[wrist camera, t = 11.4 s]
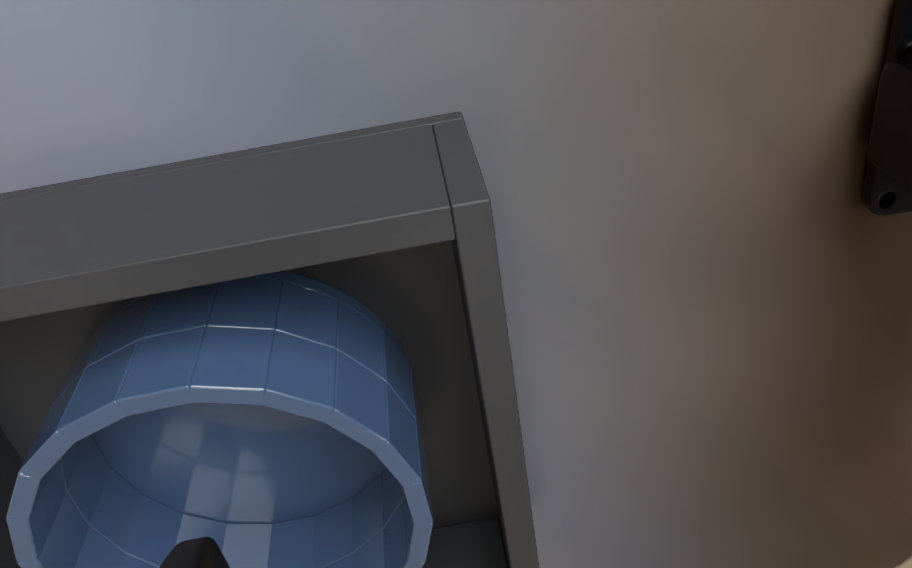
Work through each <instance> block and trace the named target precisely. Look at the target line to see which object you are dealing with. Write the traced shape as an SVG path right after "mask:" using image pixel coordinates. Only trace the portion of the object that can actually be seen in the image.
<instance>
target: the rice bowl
mask: <svg viewBox="0 0 912 568" xmlns="http://www.w3.org/2000/svg"><path fill="white" fill-rule="evenodd" d="M6 521H7V525H8V529H9V533H10V537H11V541H12V546H13V550H14V554H15V558H16V561H17V563H18V565H19V566H20V567H21V568H159V567H160V565H161V564H162V563H163V561H164V560H165V559H166V557H167V556H168V555H169V553H170V552H171V550H172V549H173V548H174V547H175V546H176V545H177V544H178V543H180V542H182V541H186V540H191V539H196V538H201V537H211V538H213V539H214V540H215V541H216V543H217V544H218V546H219V548H220V550H221V552H222V553H223V555H224V557H225V559H226V561H227V563H228V565H229V566H230V568H422V567H423V566H424V564H425V562H426V558H427V553H428V547H429V542H430V537H431V532H432V527H433V515H432V505H431V495H430V486H429V476H428V467H427V459H426V448H425V438H424V429H423V419H422V409H421V404H420V400H419V396H418V389H417V383H416V377H415V373H414V371H413V368H412V365H411V362H410V359H409V357H408V355H407V354H406V352H405V350H404V348H403V346H402V344H401V343H400V341H399V340H398V339H397V338H396V336H395V335H394V334H393V332H392V331H391V330H390V328H389V327H388V326H387V325H386V324H385V323H384V322H383V321H382V320H381V319H380V318H379V317H378V316H377V315H376V314H375V313H373V312H372V311H371V310H369V309H368V308H367V307H366V306H364V305H363V304H362V303H360V302H359V301H358V300H356V299H354V298H352V297H351V296H349V295H347V294H346V293H344V292H342V291H340V290H339V289H337V288H334V287H332V286H330V285H327V284H325V283H323V282H320V281H318V280H315V279H312V278H309V277H305V276H302V275H299V274H296V273H292V272H286V271H280V272H274V273H269V274H263V275H258V276H252V277H247V278H241V279H236V280H230V281H225V282H219V283H214V284H208V285H203V286H197V287H191V288H186V289H180V290H175V291H169V292H164V293H158V294H153V295H147V296H142V297H136V298H131V299H125V300H124V301H123V302H121V303H120V304H119V305H117V306H116V307H115V308H113V309H112V310H111V311H110V312H109V313H108V314H107V315H106V316H105V317H104V318H103V319H102V320H101V321H100V323H99V324H98V325H97V326H96V328H95V329H94V331H93V332H92V334H91V335H90V336H89V338H88V339H87V341H86V343H85V345H84V346H83V347H82V348H81V349H80V351H79V353H78V354H77V356H76V358H75V360H74V362H73V364H72V366H71V368H70V370H69V372H68V374H67V376H66V378H65V380H64V382H63V384H62V386H61V388H60V390H59V392H58V394H57V396H56V398H55V400H54V402H53V404H52V406H51V408H50V410H49V412H48V414H47V416H46V418H45V420H44V422H43V424H42V426H41V428H40V430H39V432H38V434H37V436H36V438H35V440H34V442H33V444H32V446H31V448H30V450H29V452H28V454H27V456H26V458H25V460H24V462H23V464H22V466H21V468H20V470H19V471H18V474H17V478H16V481H15V485H14V489H13V492H12V496H11V499H10V503H9V506H8V510H7V514H6Z"/></svg>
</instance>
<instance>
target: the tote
mask: <svg viewBox="0 0 912 568" xmlns="http://www.w3.org/2000/svg"><path fill="white" fill-rule="evenodd" d="M280 271H286V272H292V273H296V274H299V275H302V276H305V277H309V278H312V279H315V280H318V281H320V282H323V283H325V284H327V285H330V286H332V287H334V288H337V289H339V290H340V291H342V292H344V293H346V294H347V295H349V296H351V297H352V298H354V299H356V300H358V301H359V302H360V303H362V304H363V305H364V306H366V307H367V308H368V309H369V310H371V311H372V312H373V313H375V314H376V315H377V316H378V317H379V318H380V319H381V320H382V321H383V322H384V323H385V324H386V325H387V326H388V327H389V328H390V330H391V331H392V332H393V334H394V335H395V336H396V338H397V339H398V340H399V341H400V343H401V344H402V346H403V348H404V350H405V352H406V354H407V355H408V357H409V359H410V362H411V365H412V368H413V371H414V373H415V377H416V383H417V389H418V396H419V400H420V404H421V409H422V419H423V429H424V438H425V448H426V459H427V467H428V476H429V486H430V495H431V505H432V515H433V527H432V532H431V537H430V542H429V547H428V553H427V558H426V562H425V564H424V566H423V567H422V568H539V563H538V555H537V547H536V540H535V532H534V525H533V517H532V510H531V502H530V495H529V487H528V480H527V472H526V465H525V457H524V450H523V442H522V435H521V427H520V420H519V412H518V405H517V397H516V390H515V382H514V374H513V367H512V359H511V352H510V344H509V337H508V329H507V322H506V314H505V307H504V299H503V292H502V284H501V277H500V269H499V262H498V254H497V247H496V239H495V232H494V224H493V217H492V209H491V201H490V198H489V195H488V192H487V189H486V186H485V182H484V179H483V176H482V173H481V170H480V167H479V164H478V161H477V158H476V155H475V152H474V149H473V146H472V143H471V140H470V137H469V134H468V131H467V128H466V125H465V122H464V119H463V116H462V113H461V112H455V113H449V114H444V115H438V116H433V117H427V118H422V119H416V120H410V121H405V122H399V123H394V124H388V125H382V126H377V127H371V128H366V129H360V130H354V131H349V132H343V133H338V134H332V135H327V136H321V137H315V138H310V139H304V140H299V141H293V142H287V143H282V144H276V145H271V146H265V147H260V148H254V149H248V150H243V151H237V152H232V153H226V154H220V155H215V156H209V157H204V158H198V159H192V160H187V161H181V162H176V163H170V164H165V165H159V166H153V167H148V168H142V169H137V170H131V171H125V172H120V173H114V174H109V175H103V176H98V177H92V178H86V179H81V180H75V181H70V182H64V183H58V184H53V185H47V186H42V187H36V188H30V189H25V190H19V191H14V192H8V193H3V194H0V568H21V567H20V566H19V565H18V563H17V561H16V558H15V554H14V550H13V546H12V541H11V537H10V533H9V529H8V525H7V521H6V514H7V510H8V506H9V503H10V499H11V496H12V492H13V489H14V485H15V481H16V478H17V474H18V471H19V470H20V468H21V466H22V464H23V462H24V460H25V458H26V456H27V454H28V452H29V450H30V448H31V446H32V444H33V442H34V440H35V438H36V436H37V434H38V432H39V430H40V428H41V426H42V424H43V422H44V420H45V418H46V416H47V414H48V412H49V410H50V408H51V406H52V404H53V402H54V400H55V398H56V396H57V394H58V392H59V390H60V388H61V386H62V384H63V382H64V380H65V378H66V376H67V374H68V372H69V370H70V368H71V366H72V364H73V362H74V360H75V358H76V356H77V354H78V353H79V351H80V349H81V348H82V347H83V346H84V345H85V343H86V341H87V339H88V338H89V336H90V335H91V334H92V332H93V331H94V329H95V328H96V326H97V325H98V324H99V323H100V321H101V320H102V319H103V318H104V317H105V316H106V315H107V314H108V313H109V312H110V311H111V310H112V309H113V308H115V307H116V306H117V305H119V304H120V303H121V302H123V301H124V300H125V299H131V298H136V297H142V296H147V295H153V294H158V293H164V292H169V291H175V290H180V289H186V288H191V287H197V286H203V285H208V284H214V283H219V282H225V281H230V280H236V279H241V278H247V277H252V276H258V275H263V274H269V273H274V272H280Z"/></svg>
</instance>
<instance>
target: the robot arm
mask: <svg viewBox="0 0 912 568" xmlns="http://www.w3.org/2000/svg"><path fill="white" fill-rule="evenodd" d="M867 159H868V166H867V172H866V178H865V183H864V189H863V195H862V203H863V204H864V206H865V207H866V208H867V209H868V210H870V211H871V212H872V213H874V214H876V215H878V216H885V215H890V214H896V213H901V212H907V211H912V0H896V5H895V10H894V16H893V22H892V28H891V34H890V39H889V45H888V51H887V57H886V62H885V68H884V69H883V71H882V73H881V76H880V82H879V88H878V94H877V100H876V105H875V111H874V117H873V123H872V129H871V134H870V140H869V146H868V152H867ZM887 192H888V194H887V196H886V197H885V198H884V199H883V200H881V201H879V199H880V197H881V196H882V195H883V194H885V193H887ZM159 568H230V566H229V565H228V563H227V561H226V559H225V557H224V555H223V553H222V552H221V550H220V548H219V546H218V544H217V543H216V541H215V540H214V539H213V538H211V537H201V538H196V539H191V540H186V541H182V542H180V543H178V544H177V545H176V546H175V547H174V548H173V549H172V550H171V552H170V553H169V555H168V556H167V557H166V559H165V560H164V561H163V563H162V564H161V565H160V567H159Z"/></svg>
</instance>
